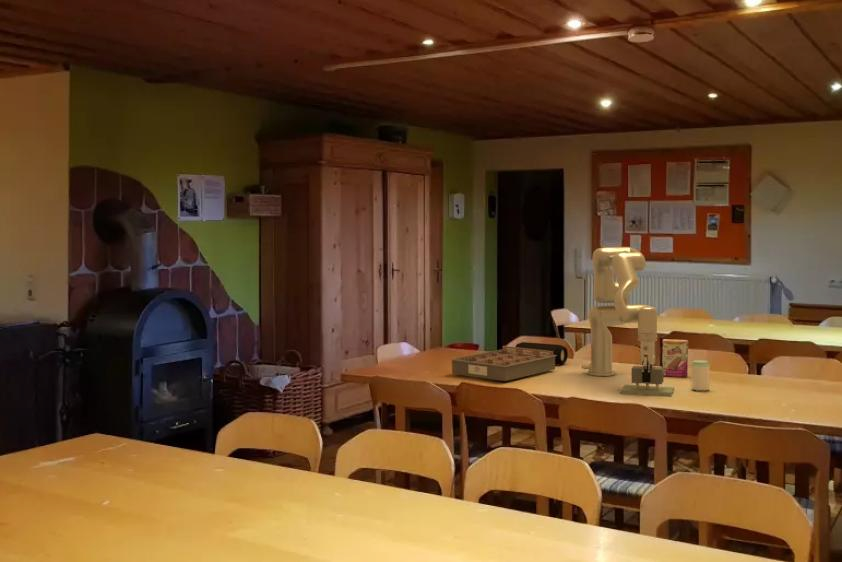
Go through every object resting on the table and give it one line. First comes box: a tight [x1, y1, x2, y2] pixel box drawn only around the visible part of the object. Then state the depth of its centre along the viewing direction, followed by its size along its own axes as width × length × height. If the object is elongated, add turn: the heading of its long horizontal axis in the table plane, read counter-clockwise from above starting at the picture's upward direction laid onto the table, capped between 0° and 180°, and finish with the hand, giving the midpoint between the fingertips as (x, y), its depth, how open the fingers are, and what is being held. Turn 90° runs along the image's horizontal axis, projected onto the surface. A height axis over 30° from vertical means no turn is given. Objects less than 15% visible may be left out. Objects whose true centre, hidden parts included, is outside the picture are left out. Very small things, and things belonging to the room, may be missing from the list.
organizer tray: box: [449, 345, 557, 382], centre depth 398 cm, size 32×40×10 cm
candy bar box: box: [661, 338, 689, 378], centre depth 384 cm, size 11×5×16 cm, turn 71°
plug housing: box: [631, 365, 665, 385], centre depth 350 cm, size 12×6×6 cm, turn 68°
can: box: [691, 359, 711, 392], centre depth 353 cm, size 7×7×12 cm
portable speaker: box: [514, 341, 569, 365], centre depth 426 cm, size 26×10×10 cm, turn 55°
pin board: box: [619, 383, 675, 397], centre depth 350 cm, size 20×12×5 cm, turn 68°
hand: (647, 380), depth 350 cm, fingers closed on plug housing, 6 cm apart
